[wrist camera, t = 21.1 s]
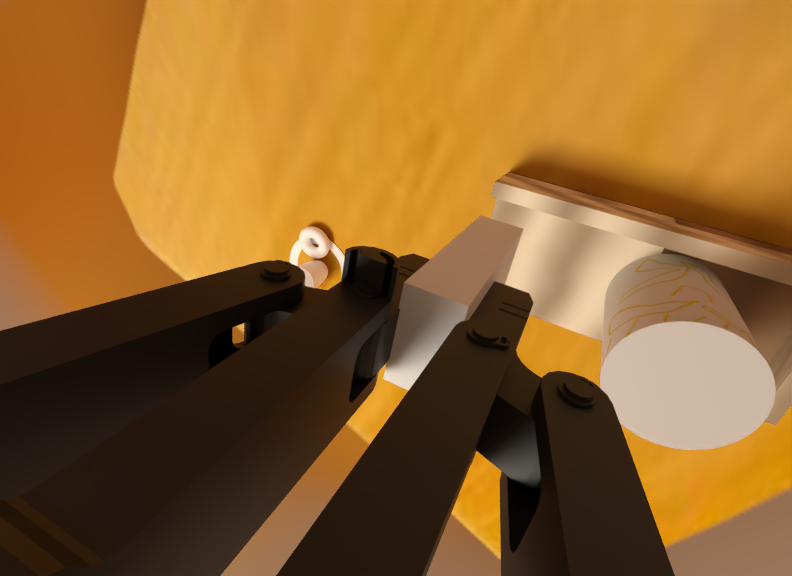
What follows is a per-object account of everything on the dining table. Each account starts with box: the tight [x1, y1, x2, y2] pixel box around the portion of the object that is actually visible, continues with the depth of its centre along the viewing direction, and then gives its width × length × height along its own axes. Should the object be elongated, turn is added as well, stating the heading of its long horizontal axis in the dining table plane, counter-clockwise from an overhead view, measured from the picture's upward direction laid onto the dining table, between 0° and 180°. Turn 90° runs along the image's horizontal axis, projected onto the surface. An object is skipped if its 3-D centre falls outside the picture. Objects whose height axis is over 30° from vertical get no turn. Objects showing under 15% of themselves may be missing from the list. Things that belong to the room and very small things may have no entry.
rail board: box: [491, 172, 792, 425], centre depth 35 cm, size 24×11×5 cm, turn 78°
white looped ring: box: [290, 226, 345, 288], centre depth 49 cm, size 9×8×4 cm
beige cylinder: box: [600, 254, 776, 450], centre depth 29 cm, size 8×8×12 cm
